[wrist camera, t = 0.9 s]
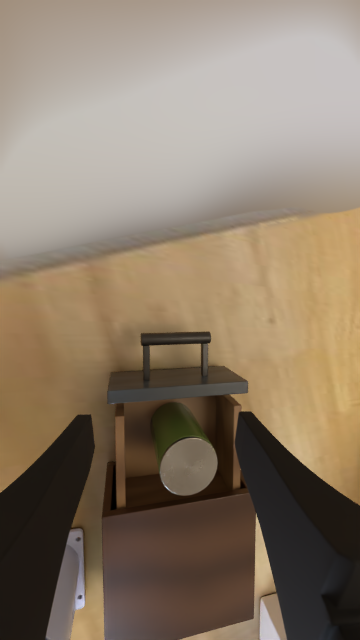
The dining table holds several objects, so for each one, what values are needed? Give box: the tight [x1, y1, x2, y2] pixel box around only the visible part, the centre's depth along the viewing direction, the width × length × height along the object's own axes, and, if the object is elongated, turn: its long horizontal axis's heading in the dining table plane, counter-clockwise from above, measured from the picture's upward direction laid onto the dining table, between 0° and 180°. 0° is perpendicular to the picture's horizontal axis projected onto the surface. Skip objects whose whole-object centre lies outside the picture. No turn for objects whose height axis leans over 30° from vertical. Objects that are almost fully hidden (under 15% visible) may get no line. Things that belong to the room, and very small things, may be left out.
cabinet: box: [102, 461, 256, 640], centre depth 28 cm, size 13×14×8 cm
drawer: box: [107, 332, 248, 509], centre depth 27 cm, size 17×13×6 cm
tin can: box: [150, 402, 218, 495], centre depth 25 cm, size 5×5×8 cm
